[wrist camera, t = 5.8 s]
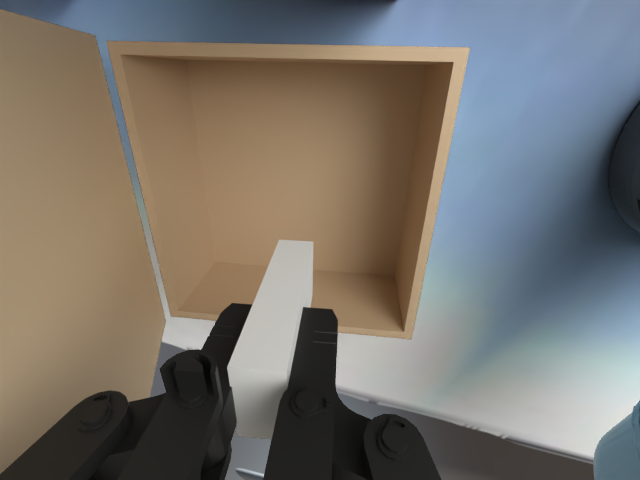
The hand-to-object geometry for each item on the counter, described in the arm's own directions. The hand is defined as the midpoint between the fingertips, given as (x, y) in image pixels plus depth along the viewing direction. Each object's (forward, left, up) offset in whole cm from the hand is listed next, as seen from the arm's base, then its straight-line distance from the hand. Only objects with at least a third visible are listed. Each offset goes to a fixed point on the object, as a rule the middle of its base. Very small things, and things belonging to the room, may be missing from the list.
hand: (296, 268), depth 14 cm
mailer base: (+2, 0, -14) cm, 15 cm away
